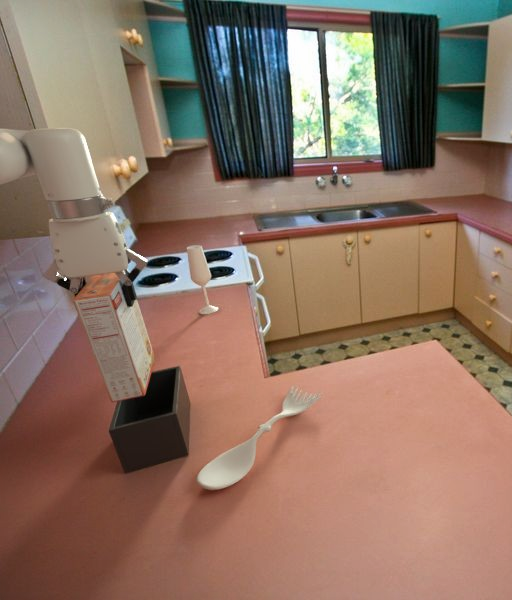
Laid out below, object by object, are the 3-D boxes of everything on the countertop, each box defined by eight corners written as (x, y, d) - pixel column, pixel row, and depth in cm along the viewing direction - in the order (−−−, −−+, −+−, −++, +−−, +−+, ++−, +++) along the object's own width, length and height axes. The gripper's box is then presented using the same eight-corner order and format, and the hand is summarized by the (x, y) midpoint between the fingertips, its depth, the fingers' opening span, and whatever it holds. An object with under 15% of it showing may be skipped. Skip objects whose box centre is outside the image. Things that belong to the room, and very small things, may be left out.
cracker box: (124, 365, 89) (93, 271, 80) (156, 360, 91) (129, 267, 82) (108, 404, 77) (69, 298, 68) (145, 397, 79) (112, 292, 70)
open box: (124, 473, 84) (108, 430, 80) (137, 415, 101) (124, 377, 97) (188, 455, 88) (176, 413, 84) (190, 402, 105) (180, 365, 101)
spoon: (324, 402, 103) (323, 391, 102) (224, 504, 77) (220, 489, 76) (294, 394, 107) (292, 382, 106) (189, 488, 81) (184, 474, 79)
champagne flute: (194, 311, 155) (179, 248, 146) (211, 305, 160) (197, 243, 151) (206, 315, 152) (190, 251, 142) (222, 308, 157) (208, 245, 147)
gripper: (140, 200, 76) (164, 292, 84) (22, 209, 70) (59, 308, 78) (134, 207, 70) (161, 306, 77) (4, 218, 64) (46, 325, 71)
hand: (110, 306), depth 77 cm, fingers closed on cracker box, 6 cm apart
